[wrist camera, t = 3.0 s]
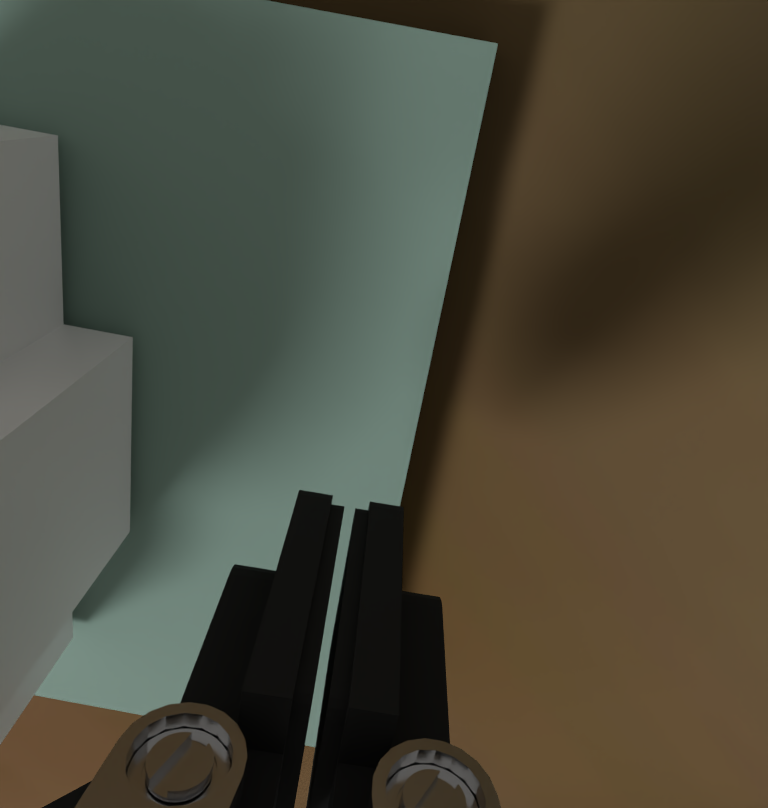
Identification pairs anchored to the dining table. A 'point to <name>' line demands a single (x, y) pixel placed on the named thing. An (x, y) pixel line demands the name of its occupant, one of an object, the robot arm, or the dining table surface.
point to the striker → (51, 430)
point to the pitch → (242, 282)
